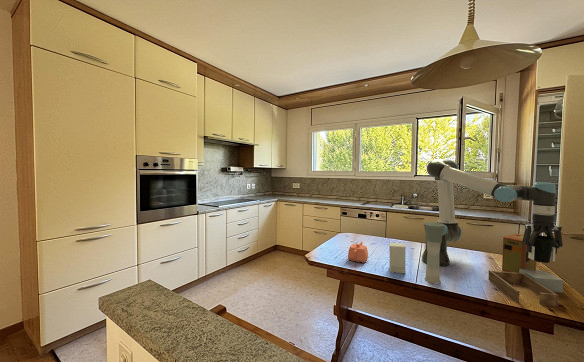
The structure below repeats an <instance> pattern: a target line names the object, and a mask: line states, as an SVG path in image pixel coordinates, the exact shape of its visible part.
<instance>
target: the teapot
mask: <svg viewBox="0 0 584 362" xmlns="http://www.w3.org/2000/svg"><path fill="white" fill-rule="evenodd" d="M347 258H348V260H349V261H352V262H355V261H356V263H360V262H362V264H363V263H366V262H367V260H368V258H369V252H368V247H367V246H366V245H363V241H360V243H353V244H351V245H350V246H349V248H348V251H347Z"/></svg>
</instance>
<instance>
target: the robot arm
mask: <svg viewBox="0 0 584 362" xmlns="http://www.w3.org/2000/svg"><path fill="white" fill-rule="evenodd" d="M426 172H427V174H428V175H429V176H430V177H432V178H434V181H435V182H436V183H437V196H438V197H437V199H438V212H439V213H438V216H439V217H438V220H436V223H441V224H444V225H445V228H444V231H443V235H442V242H441V245H440V252H439V267H440V266H441V267H442V268H443V267H444V268H445V267H449V266H450V264H451V260H450V258H449V254H448V244H451V243H454V242H457V241H458V240H460V239H461V237H462V235H463V229H462V228H461V227H460V225H459V221H458V220H456V214H455V213H456V212H455V194H454V184H456V185H460V186H463V187H465V188H468V189H471V190H473V191H476V192H479V193H481V194H484V195H488V196H491V197H493V198H495V199H496V200H497V201H499V202H502V203H510V202H514V201H530V202H532V212H533V213H532V216H531V217H532V223H531V224H524V233H523V235H524V237H523V241H522V243H523V244H526V245H527V252H529V253H528V258H530V259H532V260H534V250H535V247H534V246H533V244H534V242H535V237H538V235H542V234H543V233H544V234H545V236H547V237H548V239H552V238H554V241H553V246H552V252H551V257H550V261H551V262H555V261H556V255H557V254H558V249H560V248H562V247H564V246H563V245H564V244H563V243H564V242H563V237H562V229H563V227H562V226H560V225H555V224H554V223H555V217H556V216H555V214H556V213H555V211H556V199H557V198H556V196H557V195H556V194H557V191H556V187H557V186H556V184H555V183H554V182H542V181H541V182H537V181H536V182H534V183H533V185H518V184H517V185H514V184H503V183H500V182H497V181H494V180H491V179H488V178H485V177H482V176H478V175H475V174H471V173H469V172H466V171H463V170H460V169H459V165H458V164H457V162H455V161H454V160H452V159H437V158H436V159H433V160H431V161H429V162H428V163H427V165H426ZM424 242H425V243H424V244H425V248H424V251H423V253H422V255H421V261H422V262H423V263H425V264H427V253H428V251H427V241H426V237H425V241H424Z"/></svg>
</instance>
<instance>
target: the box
mask: <svg viewBox="0 0 584 362" xmlns="http://www.w3.org/2000/svg"><path fill="white" fill-rule="evenodd" d="M523 237H524V233H523V234H522V233H513V234H511V235H506V236H503V237H502V238H503V241H502V242H503V243H502V261H501V262H502V263H501V271H503V272H514V273H519V269H530V270H537V261H535V260H532V259H530V258H528V253H529V252H527V245H526V244H523V243H522V241H523Z"/></svg>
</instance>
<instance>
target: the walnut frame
mask: <svg viewBox="0 0 584 362" xmlns="http://www.w3.org/2000/svg"><path fill="white" fill-rule="evenodd" d="M487 278H488V279H487V280H488V281H490V282H491V283H492V284H493V285H495V287H496V288H498V289H499V290H501V291H502V292H503V293H504V294H505V295H507V296H508V297H509V298H510V299H512V300H513V301H514V302H515V301H516V302H515V303H520V291H519V290H518V289H517V288H516V287H514V286H513V285H511V283H513V284H514V283H515V284H521V285H523V286H525V287H526V288H528V289H529V290H531V291H532V292H534V293H535V294H536V295H537V296H539V303H538V304H539V305H541V306H548V307H549V306H550V307H555V308H556V307H558V308H559V302H560V294H558V293H557V292H553V291H551V290H550V289H548V288H546V287H545V286H543V285H541V284H540V283H538V282H536V281H535V280H533V279H532V278H530V277H528V276H527V275H525V274H523V273H514V272H503V271H502V270H488V277H487Z"/></svg>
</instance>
